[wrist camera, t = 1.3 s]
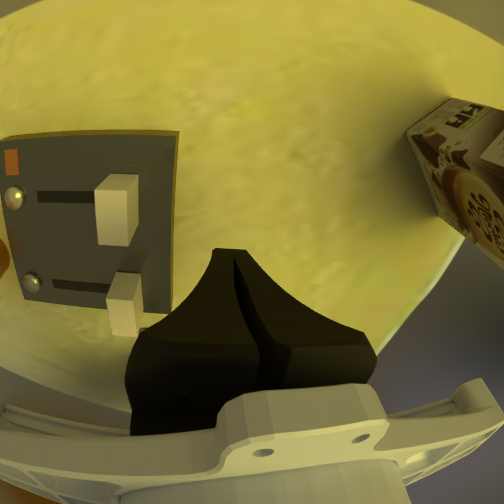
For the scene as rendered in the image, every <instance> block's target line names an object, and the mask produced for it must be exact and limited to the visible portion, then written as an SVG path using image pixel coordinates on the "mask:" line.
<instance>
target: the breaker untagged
mask: <svg viewBox="0 0 504 504" xmlns="http://www.w3.org/2000/svg"><path fill="white" fill-rule="evenodd" d="M106 303H107V309H108V314H109V319H110V324H111V329H112V334H113V335H116V336H127V337H138V333H139V328H140V323H141V318H142V314H143V298H142V285H141V274H137V273H122V272H116V274H115V276H114V279H113V281H112V284H111V286H110V289H109V292H108V294H107V297H106Z"/></svg>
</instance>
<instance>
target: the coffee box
mask: <svg viewBox="0 0 504 504" xmlns="http://www.w3.org/2000/svg"><path fill="white" fill-rule="evenodd" d="M406 136H407V139H408V141H409V143H410V145H411V148H412V150H413V152H414V154H415V156H416V159H417V161H418V163H419V166H420V168H421V170H422V173H423V175H424V178H425V180H426V183H427V185H428V188H429V190H430V193H431V196H432V198H433V201H434V204H435V207H436V210H437V212H438V215H439V217H440V218H441V219H443V220H444V221H445V222H447V223H448V224H449V225H451V226H452V227H453V228H454V229H456V230H457V231H458V232H459V233H461V234H462V235H463V236H464V237H466V238H467V239H468V240H469V241H471V242H472V243H473V244H474V245H476V246H477V247H478V248H479V249H480V250H482V251H483V252H484V253H485V254H486V255H488V256H489V257H490V258H491V259H492V260H493V261H495V262H496V263H497V264H498V265H499V266H500V267H501V268H502V269H503V270H504V111H503V110H499V109H496V108H492V107H489V106H485V105H481V104H477V103H473V102H469V101H465V100H461V99H457V98H452V99H450V100H449V101H447V102H446V103H445V104H443V105H442V106H440V107H439V108H438V109H436V110H435V111H433V112H432V113H430V114H429V115H428V116H426V117H425V118H424V119H422V120H421V121H419V122H418V123H416V124H415V125H414V126H412V127H411V128H410V129H408V130H407V131H406Z"/></svg>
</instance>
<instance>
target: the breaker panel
mask: <svg viewBox="0 0 504 504" xmlns="http://www.w3.org/2000/svg"><path fill="white" fill-rule="evenodd" d="M178 142H179V131H161V130H83V131H62V132H48V133H35V134H25V135H16V136H9V137H7V138H4V139H2V140H0V195H1V202H2V208H3V214H4V220H5V225H6V230H7V235H8V240H9V244H10V248H11V253H12V257H13V261H14V265H15V268H16V272H17V276H18V279H19V283H20V286H21V289H22V293H23V296H24V299H25V300H32V301H39V302H47V303H55V304H63V305H71V306H80V307H90V308H99V309H107V303H106V297H107V294H108V292H109V289H110V286H111V284H112V281H113V279H114V276H115V274H116V272H122V273H137V274H141V285H142V298H143V312H146V313H161V314H170V313H171V310H172V302H173V232H174V205H175V185H176V169H177V154H178ZM110 174H138V175H139V183H138V215H139V224H138V226H137V228H136V230H135V233H134V235H133V237H132V239H131V242H130V244H129V246H112V245H98V236H97V224H96V211H95V194H94V190H95V189H96V188H97V187H98V186H99V185H100V184H101V183H102V182H103V181H104V180H105V179H106V178H107V177H108V176H109V175H110Z"/></svg>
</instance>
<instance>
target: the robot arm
mask: <svg viewBox="0 0 504 504" xmlns="http://www.w3.org/2000/svg"><path fill="white" fill-rule="evenodd" d="M376 364H377V357H376V354H375V352H374V350H373V348H372V346H371V344H370V342H369V341H368V339H367V337H366V335H365V334H364V332H361V331H358V330H356V329H353V328H350V327H347V326H345V325H342V324H340V323H337V322H335V321H333V320H331V319H329V318H327V317H325V316H323V315H321V314H319V313H317V312H315V311H314V310H312V309H310V308H309V307H307V306H305V305H304V304H302V303H301V302H299V301H298V300H296V299H295V298H294V297H292V296H291V295H290V294H288V293H287V292H286V291H285V290H283V289H282V288H281V287H280V286H279V285H278V284H277V283H276V282H275V281H273V280H272V279H271V278H270V277H269V276H268V275H267V273H266V272H265V271H264V270H263V269H262V268H261V267H260V266H259V265H258V264H257V262H256V261H255V260H254V259H253V258H252V256H251V255H250V254H249V253H248V252H247V251H246V250H240V249H223V248H215V249H214V250H212V257H211V260H210V263H209V265H208V267H207V269H206V271H205V273H204V274H203V276H202V278H201V279H200V281H199V282H198V284H197V285H196V287H195V288H194V289H193V291H192V292H191V293H190V294H189V296H188V297H187V298H186V299H185V300H184V301H183V302H182V303H181V304H180V305H179V306H178V307H177V308H176V309H175V310H174V311H172V312H171V313H170V314H168V315H167V316H166V317H165V318H163V319H162V320H161V321H159V322H158V323H156V324H154V325H152V326H151V327H149V328H147V329H143V330H141V332H140V334H139V336H138V338H137V340H136V342H135V344H134V346H133V349H132V351H131V354H130V356H129V359H128V363H127V368H126V373H125V388H126V392H127V395H128V399H129V402H130V405H131V409H132V416H131V425H130V430H123V429H116V428H109V427H103V426H96V425H90V424H85V423H80V422H74V421H70V420H64V419H60V418H56V417H52V416H48V415H43V414H40V413H36V412H32V411H28V410H25V409H21V408H18V407H15V406H12V405H8V404H5V402H4V400H3V399H2V397H1V395H0V479H1V480H4V481H6V482H8V483H11V484H13V485H15V486H17V487H20V488H22V489H25V490H27V491H30V492H32V493H35V494H37V495H40V496H43V497H45V498H48V499H51V500H54V501H57V502H60V503H62V504H411V502H410V499H409V496H408V494H407V491H406V489H405V486H406V485H408V484H411V483H413V482H415V481H417V480H419V479H422V478H424V477H425V476H428V475H430V474H432V473H434V472H436V471H438V470H440V469H441V468H443V467H445V466H447V465H449V464H451V463H453V462H455V461H457V460H458V459H460V458H462V457H464V456H466V455H468V454H470V453H471V452H473V451H474V450H475V449H476V448H477V447H478V446H480V445H481V444H482V443H483V442H484V441H485V440H486V439H488V438H489V437H490V436H491V435H492V434H493V433H494V432H495V431H496V430H497V429H499V428H500V427H501V426H502V425H503V424H504V413H503V412H502V410H501V408H500V407H499V405H498V403H497V402H496V400H495V399H494V397H493V396H492V394H491V393H490V391H489V390H488V388H487V386H486V385H485V383H484V382H483V380H482V379H481V378H478V379H475V380H472V381H469V382H466V383H464V384H463V385H461V386H460V387H459V388H458V389H457V390H456V391H455V393H454V394H453V396H452V397H450V398H447V399H445V400H441V401H438V402H435V403H431V404H428V405H425V406H421V407H418V408H415V409H411V410H407V411H403V412H399V413H395V414H391V415H387V416H386V414H385V412H384V409H383V407H382V405H381V403H380V401H379V399H378V396H377V394H376V392H375V391H374V389H373V388H372V387H371V386H370V385H367V384H366V382H367V381H368V380H369V378H370V377H371V375H372V373H373V371H374V369H375V367H376Z"/></svg>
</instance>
